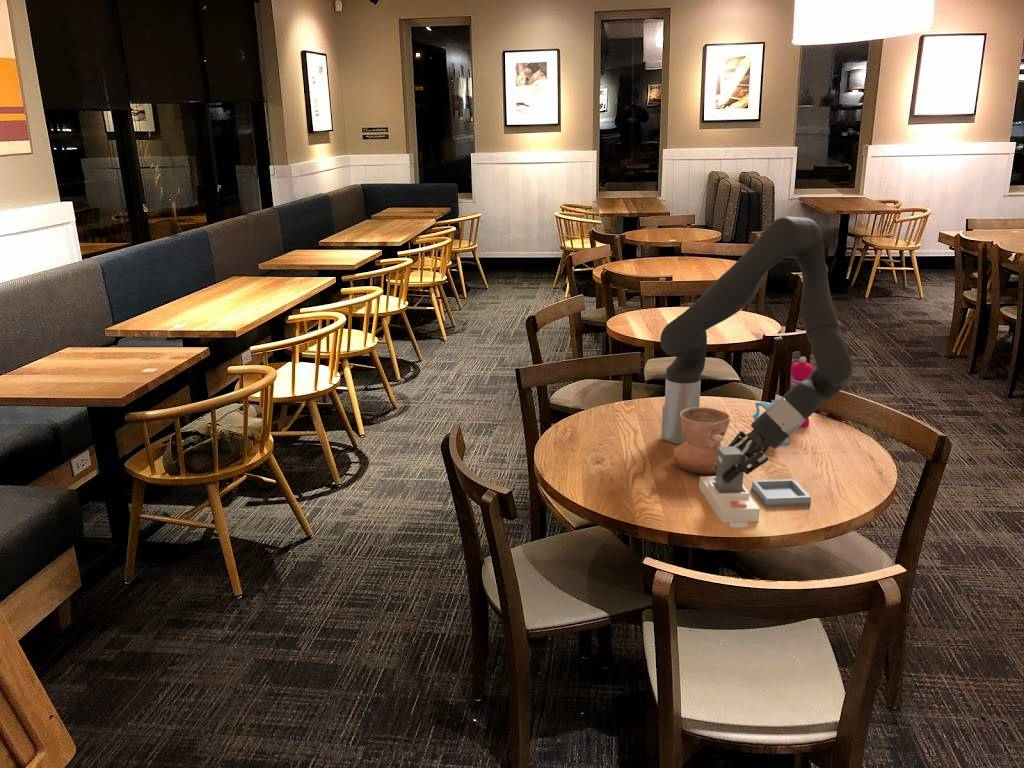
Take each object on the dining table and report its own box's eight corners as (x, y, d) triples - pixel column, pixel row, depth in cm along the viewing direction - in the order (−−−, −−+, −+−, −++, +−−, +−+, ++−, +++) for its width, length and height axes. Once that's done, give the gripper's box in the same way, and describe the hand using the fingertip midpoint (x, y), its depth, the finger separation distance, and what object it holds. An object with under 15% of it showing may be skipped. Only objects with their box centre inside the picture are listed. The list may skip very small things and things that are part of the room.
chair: (771, 434, 226) (774, 393, 223) (789, 444, 218) (793, 401, 215) (747, 438, 224) (749, 396, 220) (765, 448, 216) (768, 405, 213)
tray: (766, 506, 182) (767, 498, 182) (751, 488, 192) (752, 480, 191) (810, 505, 183) (811, 497, 182) (793, 486, 192) (794, 479, 192)
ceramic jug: (745, 477, 198) (748, 422, 194) (689, 483, 195) (692, 427, 191) (711, 452, 215) (714, 401, 211) (659, 457, 212) (661, 405, 208)
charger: (714, 488, 185) (717, 447, 182) (735, 487, 186) (737, 446, 183) (721, 496, 181) (723, 454, 178) (741, 495, 181) (744, 453, 178)
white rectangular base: (699, 488, 192) (700, 471, 191) (732, 487, 193) (733, 470, 192) (722, 522, 175) (723, 505, 174) (758, 521, 176) (760, 503, 174)
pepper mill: (814, 428, 230) (820, 359, 224) (788, 428, 230) (794, 360, 224) (805, 419, 237) (811, 353, 231) (780, 420, 237) (786, 353, 231)
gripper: (756, 401, 185) (700, 453, 188) (779, 422, 171) (719, 478, 174) (777, 422, 187) (722, 473, 190) (801, 445, 173) (742, 499, 176)
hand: (721, 475), depth 182 cm, fingers closed on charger, 4 cm apart
